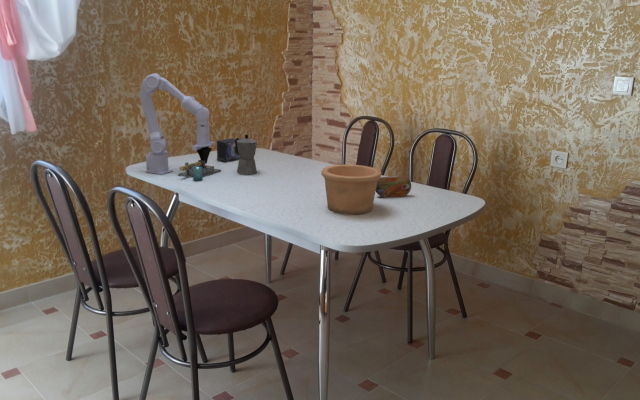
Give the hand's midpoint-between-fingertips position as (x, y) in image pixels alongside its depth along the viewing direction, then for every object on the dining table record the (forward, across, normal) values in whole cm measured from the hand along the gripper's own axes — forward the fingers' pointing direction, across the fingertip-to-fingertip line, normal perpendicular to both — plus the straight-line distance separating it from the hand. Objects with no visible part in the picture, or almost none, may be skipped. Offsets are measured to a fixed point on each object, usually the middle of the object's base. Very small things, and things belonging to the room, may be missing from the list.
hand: (204, 163), depth 252 cm
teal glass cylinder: (+4, -14, -7) cm, 17 cm away
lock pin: (+1, -9, 0) cm, 9 cm away
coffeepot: (+4, +8, -17) cm, 20 cm away
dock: (+4, -4, 0) cm, 5 cm away
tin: (+4, +2, -90) cm, 90 cm away
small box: (+4, +28, +5) cm, 28 cm away
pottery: (+4, -22, -81) cm, 84 cm away
